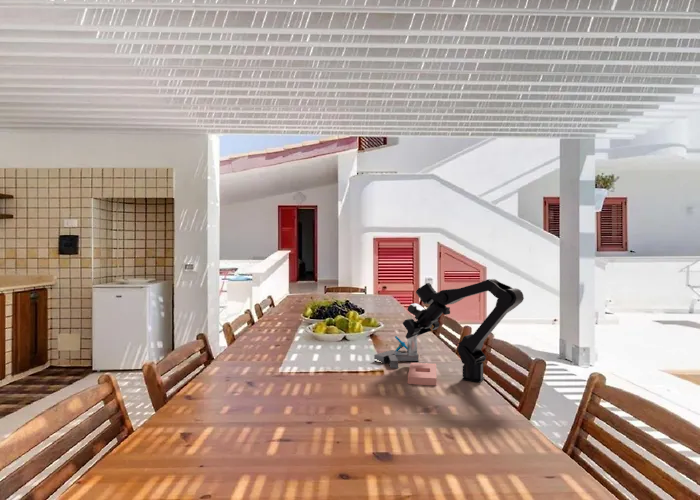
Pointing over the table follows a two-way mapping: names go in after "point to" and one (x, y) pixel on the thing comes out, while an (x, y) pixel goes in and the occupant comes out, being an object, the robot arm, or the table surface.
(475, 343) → the robot arm
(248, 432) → the table surface
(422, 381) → the beam plate
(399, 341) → the gear
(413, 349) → the axle
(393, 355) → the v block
